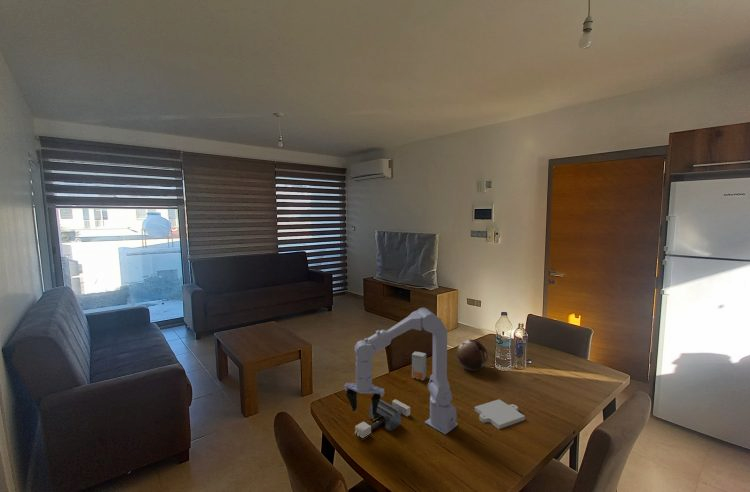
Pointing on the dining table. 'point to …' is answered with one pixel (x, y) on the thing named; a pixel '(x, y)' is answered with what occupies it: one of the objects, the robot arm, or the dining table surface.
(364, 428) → the white ended gray rod
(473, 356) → the wooden sphere
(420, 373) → the skincare box
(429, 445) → the dining table surface
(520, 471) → the dining table surface
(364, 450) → the dining table surface
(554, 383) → the dining table surface
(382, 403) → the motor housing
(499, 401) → the mounting plate
